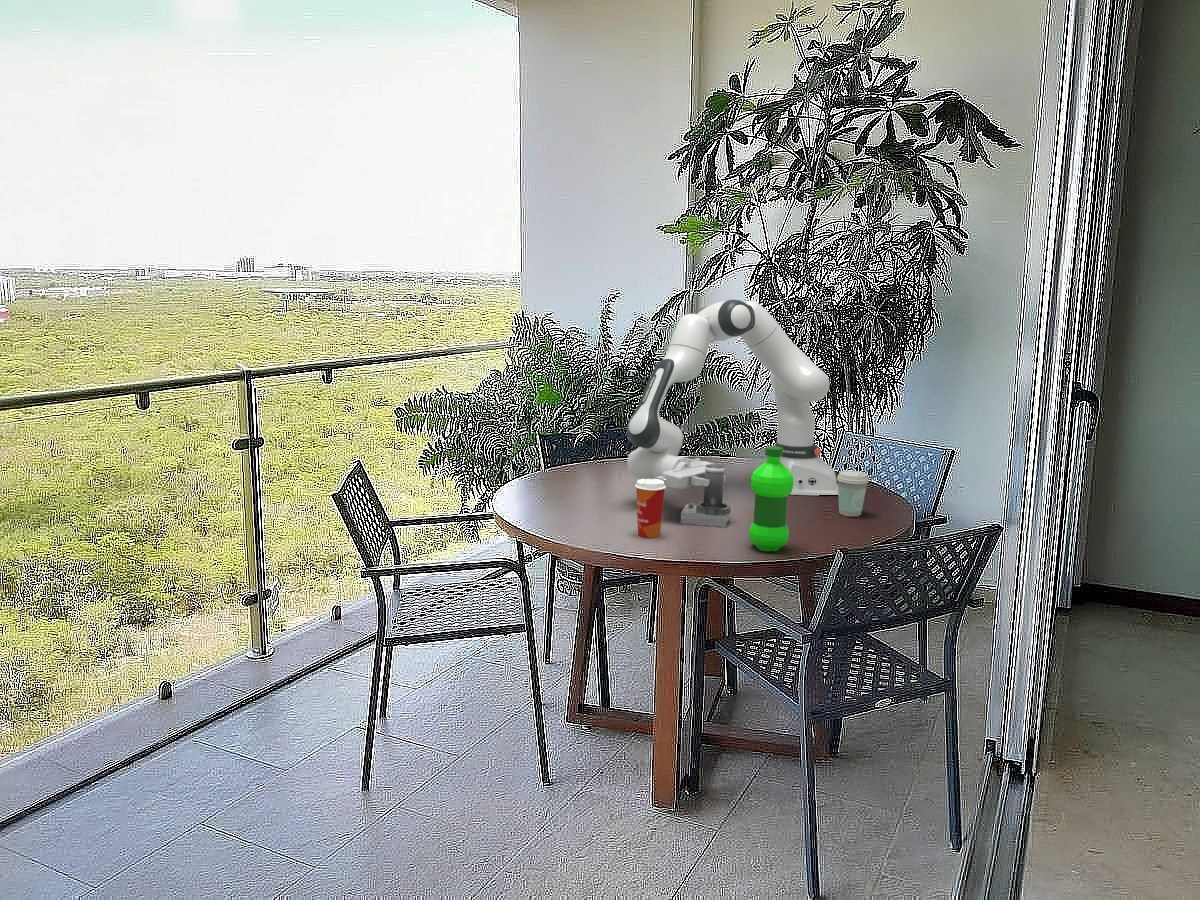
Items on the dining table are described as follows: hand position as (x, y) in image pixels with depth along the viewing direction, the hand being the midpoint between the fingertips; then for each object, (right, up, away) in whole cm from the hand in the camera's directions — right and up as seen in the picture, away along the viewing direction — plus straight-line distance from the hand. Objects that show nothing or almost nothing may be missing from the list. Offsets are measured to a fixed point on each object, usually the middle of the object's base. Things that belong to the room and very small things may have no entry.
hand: (716, 481), depth 246 cm
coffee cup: (+39, -10, +13) cm, 42 cm away
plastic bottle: (+10, -16, -20) cm, 27 cm away
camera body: (-2, -11, +3) cm, 12 cm away
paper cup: (-19, -13, -11) cm, 26 cm away
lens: (-1, -6, +2) cm, 6 cm away
